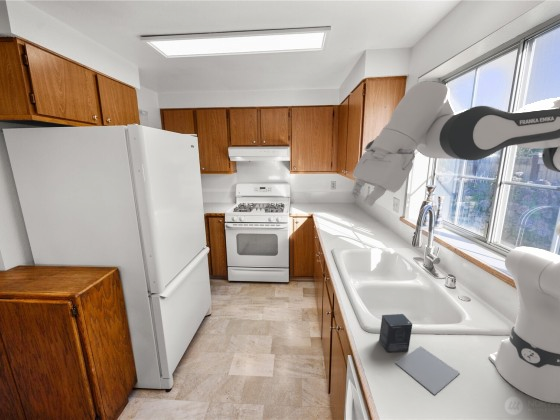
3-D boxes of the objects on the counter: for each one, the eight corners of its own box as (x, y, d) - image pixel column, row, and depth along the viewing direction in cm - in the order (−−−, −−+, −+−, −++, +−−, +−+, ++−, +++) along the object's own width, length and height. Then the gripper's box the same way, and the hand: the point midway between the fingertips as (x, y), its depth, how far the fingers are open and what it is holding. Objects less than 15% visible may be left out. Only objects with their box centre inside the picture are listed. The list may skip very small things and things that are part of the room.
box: (399, 339, 87) (403, 313, 85) (408, 351, 82) (413, 324, 79) (378, 340, 86) (381, 314, 84) (386, 352, 81) (390, 325, 78)
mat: (420, 346, 84) (420, 346, 84) (459, 373, 74) (459, 372, 74) (395, 363, 77) (395, 362, 77) (434, 395, 67) (434, 394, 67)
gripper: (431, 157, 48) (390, 217, 50) (383, 155, 67) (356, 198, 70) (405, 141, 47) (365, 202, 49) (364, 143, 66) (337, 187, 69)
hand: (359, 199), depth 60 cm, fingers open, 8 cm apart
